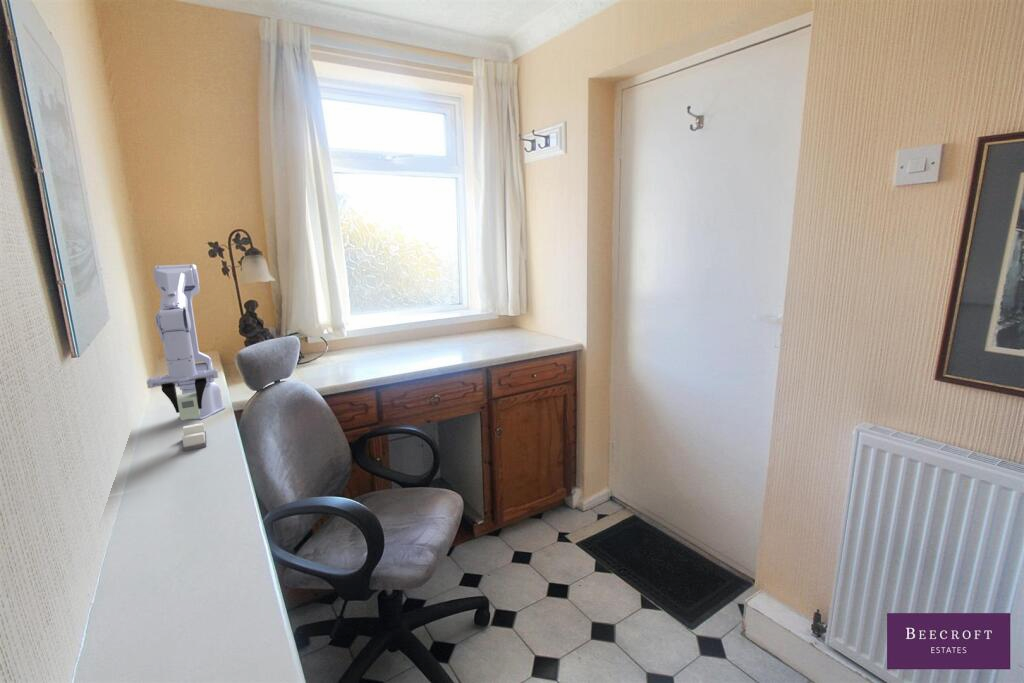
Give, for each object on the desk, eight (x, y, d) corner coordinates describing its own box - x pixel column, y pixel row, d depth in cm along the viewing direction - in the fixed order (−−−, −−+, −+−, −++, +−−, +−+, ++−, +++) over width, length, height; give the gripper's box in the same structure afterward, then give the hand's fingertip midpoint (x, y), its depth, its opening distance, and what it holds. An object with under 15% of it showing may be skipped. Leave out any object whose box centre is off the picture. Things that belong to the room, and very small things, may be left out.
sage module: (181, 415, 123) (177, 394, 121) (199, 412, 125) (196, 392, 123) (180, 420, 119) (176, 399, 118) (199, 417, 121) (196, 396, 120)
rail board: (184, 438, 126) (182, 426, 125) (206, 434, 128) (204, 422, 128) (183, 451, 118) (181, 438, 118) (206, 446, 121) (204, 434, 120)
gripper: (141, 365, 111) (152, 420, 114) (214, 356, 119) (223, 408, 122) (144, 359, 117) (155, 411, 120) (214, 350, 125) (222, 400, 128)
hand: (189, 409), depth 121 cm, fingers closed on sage module, 4 cm apart
